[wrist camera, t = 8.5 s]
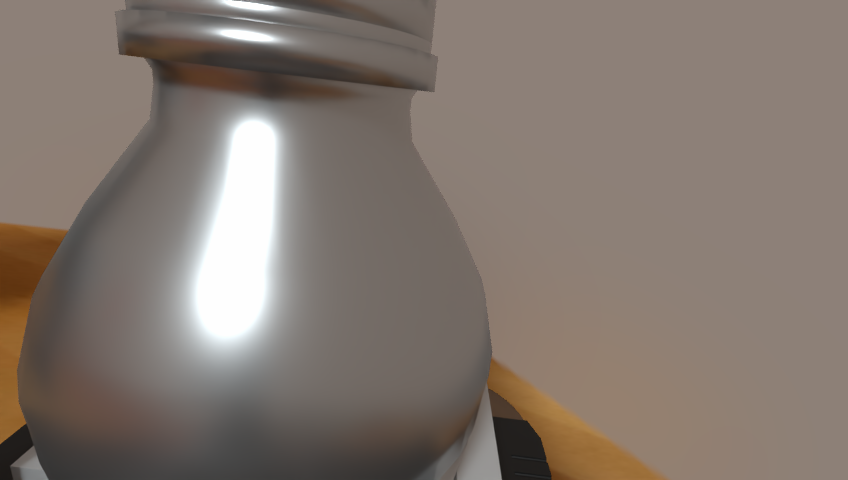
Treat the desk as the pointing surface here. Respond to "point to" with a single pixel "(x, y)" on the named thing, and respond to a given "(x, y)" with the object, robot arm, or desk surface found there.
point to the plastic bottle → (263, 263)
